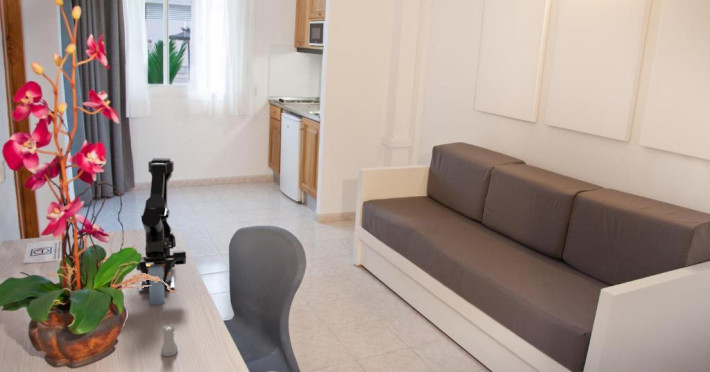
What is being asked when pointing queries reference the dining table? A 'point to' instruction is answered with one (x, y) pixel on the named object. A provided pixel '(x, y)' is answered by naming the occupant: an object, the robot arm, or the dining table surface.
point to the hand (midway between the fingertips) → (156, 285)
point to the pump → (156, 285)
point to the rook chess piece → (168, 342)
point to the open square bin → (169, 281)
